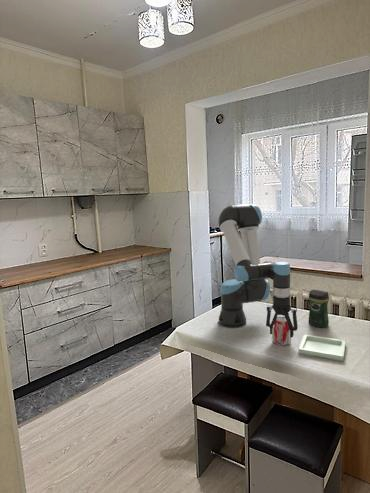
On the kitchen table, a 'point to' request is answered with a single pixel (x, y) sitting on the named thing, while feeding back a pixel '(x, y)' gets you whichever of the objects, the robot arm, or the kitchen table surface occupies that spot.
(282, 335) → the soda can
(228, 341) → the kitchen table surface
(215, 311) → the kitchen table surface
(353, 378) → the kitchen table surface
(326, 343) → the tray
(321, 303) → the coffee jar
